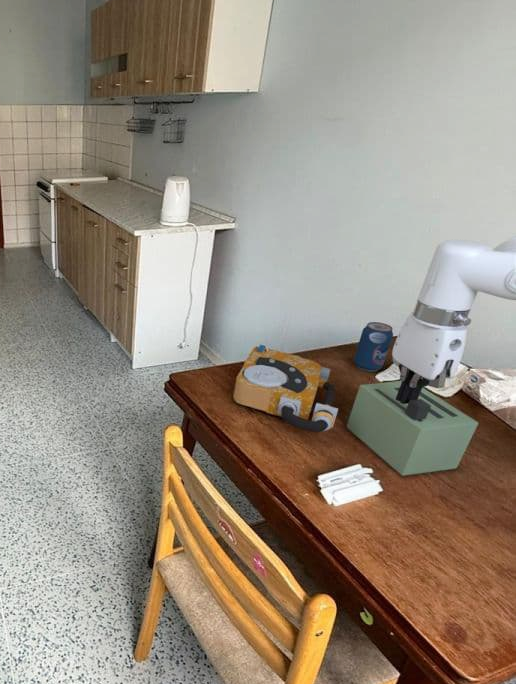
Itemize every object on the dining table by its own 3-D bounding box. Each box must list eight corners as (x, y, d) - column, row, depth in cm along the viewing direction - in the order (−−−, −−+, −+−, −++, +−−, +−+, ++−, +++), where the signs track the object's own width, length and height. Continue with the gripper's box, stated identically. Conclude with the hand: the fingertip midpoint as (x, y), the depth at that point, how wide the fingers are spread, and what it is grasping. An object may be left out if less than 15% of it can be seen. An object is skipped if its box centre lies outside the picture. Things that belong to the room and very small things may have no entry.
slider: (415, 411, 90) (420, 398, 89) (425, 418, 88) (431, 405, 87) (404, 413, 90) (409, 399, 89) (414, 420, 88) (419, 406, 86)
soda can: (375, 375, 125) (388, 334, 119) (347, 365, 129) (360, 325, 124) (385, 367, 128) (399, 326, 123) (359, 358, 133) (371, 318, 127)
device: (350, 357, 116) (336, 418, 94) (341, 386, 120) (326, 450, 98) (255, 337, 127) (223, 387, 105) (250, 364, 131) (218, 418, 109)
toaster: (394, 421, 106) (410, 379, 101) (456, 468, 92) (479, 422, 87) (346, 427, 105) (360, 384, 100) (402, 475, 91) (421, 429, 86)
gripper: (499, 328, 76) (456, 421, 85) (424, 296, 89) (393, 380, 98) (458, 332, 75) (419, 425, 84) (388, 299, 88) (360, 383, 97)
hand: (405, 401), depth 91 cm, fingers closed
